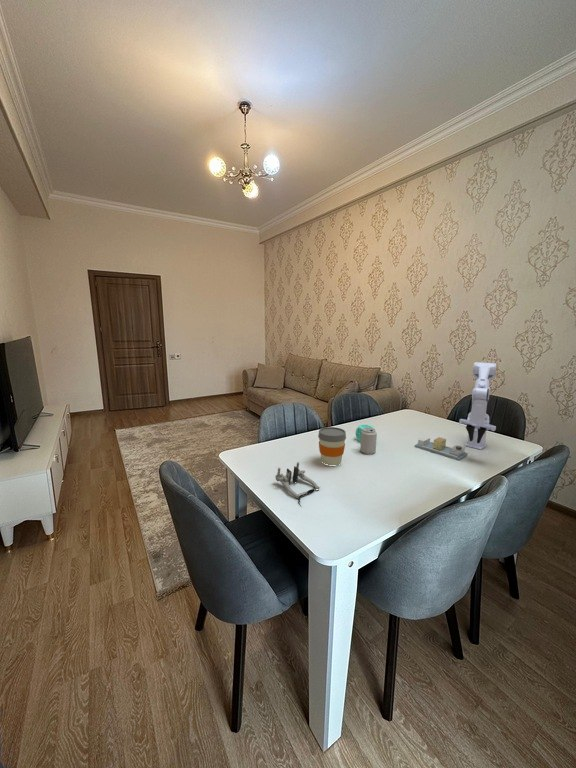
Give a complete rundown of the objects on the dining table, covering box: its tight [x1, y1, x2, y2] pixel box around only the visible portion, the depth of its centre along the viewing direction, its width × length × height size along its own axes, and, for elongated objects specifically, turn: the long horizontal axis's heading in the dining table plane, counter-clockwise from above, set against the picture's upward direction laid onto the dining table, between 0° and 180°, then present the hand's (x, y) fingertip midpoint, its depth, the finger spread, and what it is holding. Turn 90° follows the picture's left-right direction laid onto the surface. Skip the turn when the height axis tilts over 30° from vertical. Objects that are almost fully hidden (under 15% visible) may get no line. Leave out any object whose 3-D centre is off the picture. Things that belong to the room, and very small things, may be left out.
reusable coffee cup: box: [317, 426, 347, 466], centre depth 142 cm, size 12×13×15 cm
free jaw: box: [450, 444, 466, 457], centre depth 150 cm, size 7×4×4 cm, turn 131°
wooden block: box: [433, 436, 447, 451], centre depth 156 cm, size 6×4×5 cm, turn 131°
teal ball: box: [355, 424, 375, 443], centre depth 170 cm, size 8×8×8 cm
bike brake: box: [275, 461, 321, 503], centre depth 119 cm, size 14×7×20 cm
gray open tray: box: [414, 436, 469, 461], centre depth 156 cm, size 10×22×4 cm, turn 41°
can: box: [359, 427, 378, 455], centre depth 154 cm, size 8×8×12 cm
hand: (474, 441), depth 144 cm, fingers open, 2 cm apart
